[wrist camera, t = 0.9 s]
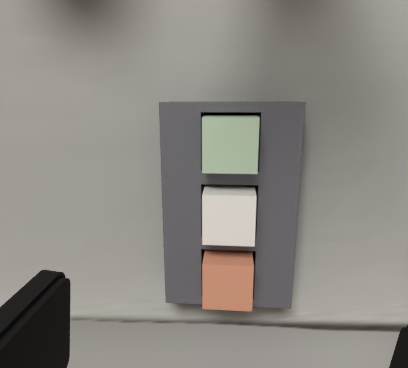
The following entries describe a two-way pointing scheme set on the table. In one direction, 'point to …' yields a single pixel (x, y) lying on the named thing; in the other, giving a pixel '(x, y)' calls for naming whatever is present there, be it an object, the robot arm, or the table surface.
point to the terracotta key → (227, 280)
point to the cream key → (228, 215)
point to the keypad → (265, 184)
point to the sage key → (230, 144)
